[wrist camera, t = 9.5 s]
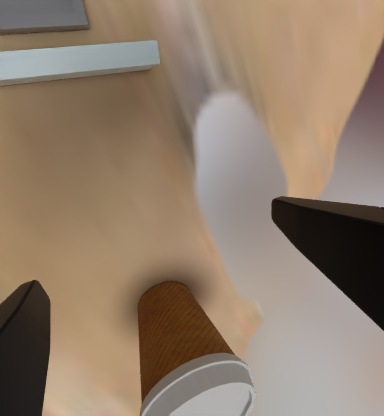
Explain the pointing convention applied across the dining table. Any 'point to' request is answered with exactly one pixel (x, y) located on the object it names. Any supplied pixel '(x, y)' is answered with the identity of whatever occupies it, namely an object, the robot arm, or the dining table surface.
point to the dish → (41, 16)
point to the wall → (76, 61)
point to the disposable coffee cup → (187, 359)
